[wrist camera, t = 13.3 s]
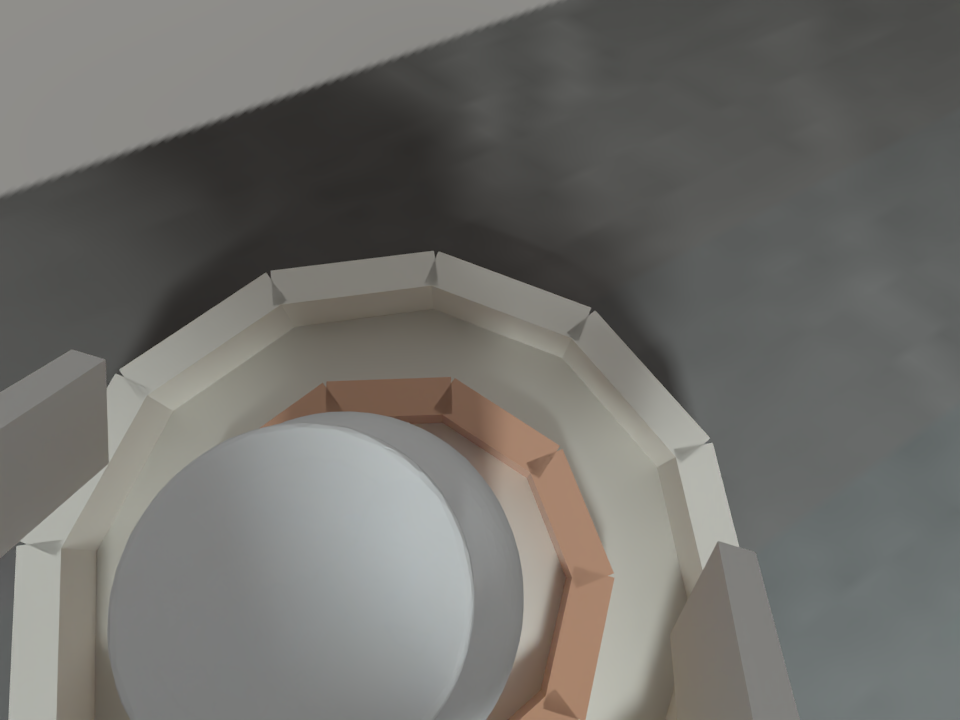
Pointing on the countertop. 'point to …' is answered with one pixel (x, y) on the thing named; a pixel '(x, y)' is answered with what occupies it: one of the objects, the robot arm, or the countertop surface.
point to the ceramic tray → (442, 412)
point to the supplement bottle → (319, 581)
